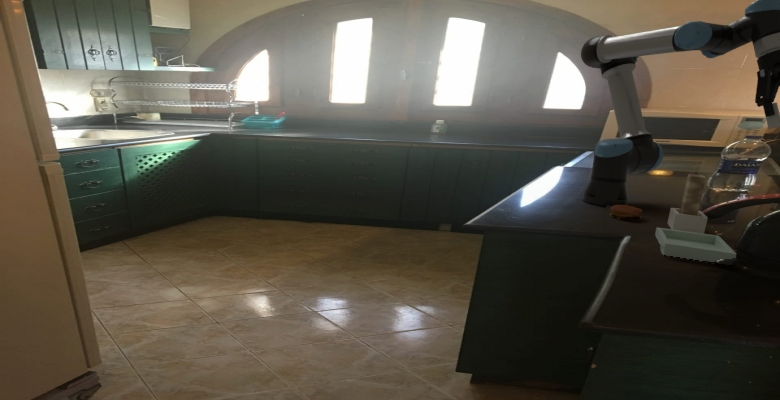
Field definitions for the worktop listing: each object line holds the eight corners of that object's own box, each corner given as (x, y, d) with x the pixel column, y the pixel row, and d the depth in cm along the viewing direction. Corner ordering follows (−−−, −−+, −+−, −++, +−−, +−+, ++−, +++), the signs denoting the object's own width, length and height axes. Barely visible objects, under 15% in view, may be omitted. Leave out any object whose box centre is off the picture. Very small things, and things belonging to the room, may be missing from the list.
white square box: (671, 233, 116) (675, 213, 114) (666, 226, 122) (670, 207, 121) (702, 237, 113) (707, 217, 111) (696, 230, 119) (700, 211, 118)
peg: (679, 229, 116) (691, 176, 112) (676, 226, 119) (688, 174, 115) (693, 231, 115) (706, 177, 111) (690, 227, 118) (702, 175, 114)
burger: (604, 214, 134) (607, 201, 132) (635, 217, 131) (638, 203, 130) (612, 223, 125) (615, 209, 123) (645, 226, 122) (648, 212, 121)
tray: (663, 255, 99) (665, 243, 98) (654, 238, 112) (656, 227, 111) (733, 266, 94) (736, 253, 93) (715, 247, 106) (718, 235, 105)
